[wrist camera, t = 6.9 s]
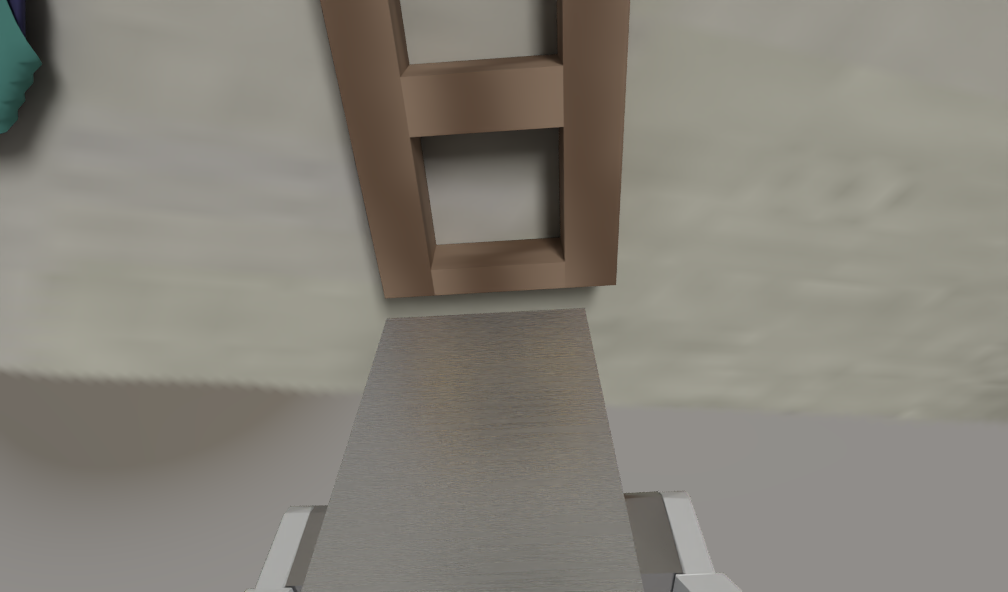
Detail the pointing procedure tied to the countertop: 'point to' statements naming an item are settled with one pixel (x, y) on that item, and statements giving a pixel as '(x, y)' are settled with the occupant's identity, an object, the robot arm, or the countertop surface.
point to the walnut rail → (474, 109)
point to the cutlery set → (14, 61)
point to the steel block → (479, 465)
